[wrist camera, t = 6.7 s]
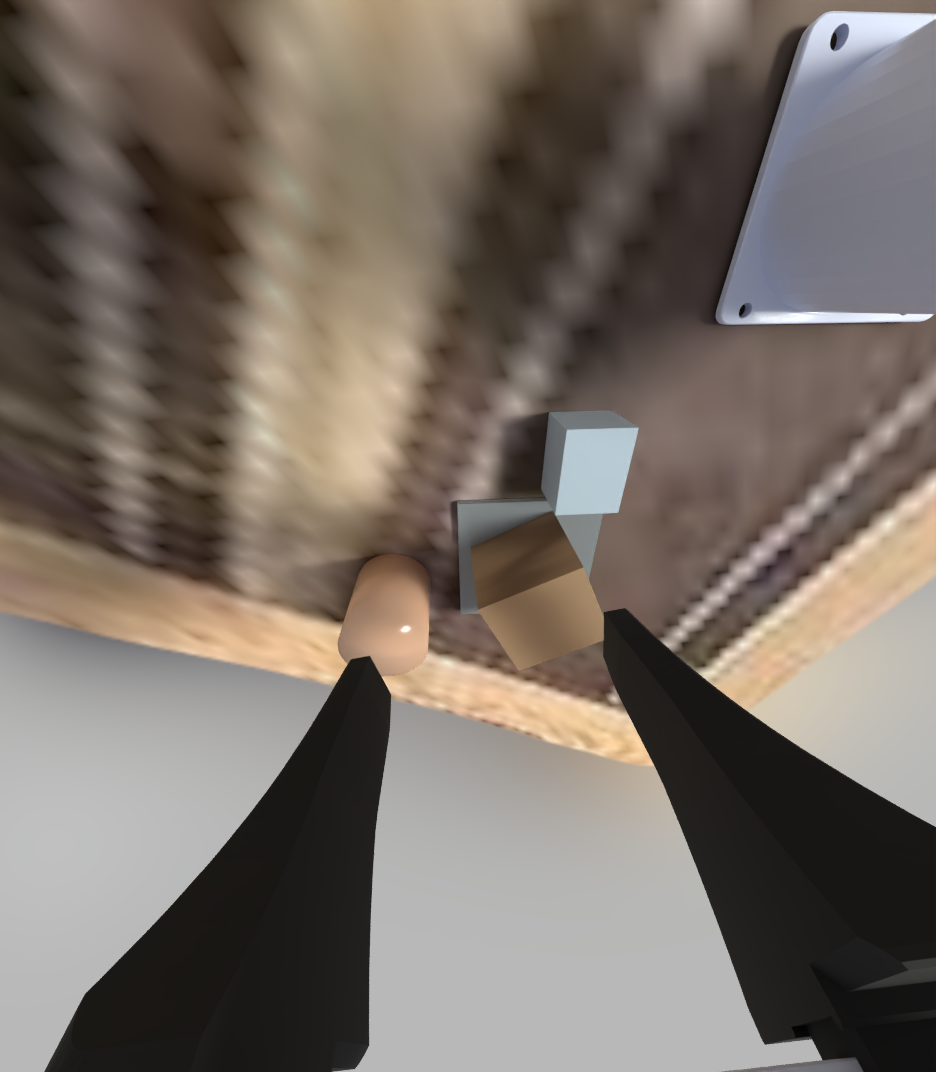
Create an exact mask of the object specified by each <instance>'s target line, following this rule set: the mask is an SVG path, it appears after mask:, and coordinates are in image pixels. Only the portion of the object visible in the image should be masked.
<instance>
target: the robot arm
mask: <svg viewBox="0 0 936 1072" xmlns="http://www.w3.org/2000/svg"><path fill="white" fill-rule="evenodd" d="M833 32H834V33H836V36H837V42H836V46H835V48H834V50H831V47H830V40H831V36H832V34H833ZM742 305H745V311H744V313H743V314H742V315H741V316H739V310H740V308H741V306H742ZM934 314H936V14H925V13H885V12H845V11H830V12H826V13H824V14H823V15H821V16H820V17H819V18H817V19H816V20H815V21H814V22H812V23H811V24H810V25H809V26H808V27H807V28H806V30H805V31H804V33H803V34H802V36H801V39H800V41H799V43H798V47H797V50H796V53H795V56H794V60H793V63H792V66H791V69H790V73H789V76H788V79H787V82H786V86H785V89H784V92H783V95H782V99H781V102H780V105H779V108H778V112H777V115H776V118H775V121H774V125H773V128H772V131H771V134H770V138H769V141H768V144H767V147H766V151H765V154H764V157H763V160H762V164H761V167H760V170H759V173H758V177H757V180H756V183H755V186H754V190H753V193H752V196H751V199H750V203H749V206H748V209H747V212H746V216H745V219H744V222H743V225H742V229H741V232H740V235H739V238H738V242H737V245H736V248H735V251H734V255H733V258H732V261H731V264H730V268H729V271H728V274H727V277H726V281H725V284H724V287H723V290H722V294H721V297H720V300H719V303H718V307H717V310H716V320H717V322H718V323H719V324H724V325H743V324H805V323H866V322H921V321H925V320H927V319H928V318H930V317H931V316H932V315H934ZM603 657H604V659H605V662H606V665H607V667H608V670H609V673H610V675H611V678H612V681H613V683H614V686H615V688H616V691H617V693H618V695H619V697H620V699H621V701H622V703H623V705H624V707H625V709H626V711H627V713H628V715H629V717H630V718H631V720H632V722H633V724H634V726H635V728H636V730H637V732H638V734H639V736H640V738H641V740H642V742H643V744H644V746H645V748H646V750H647V752H648V754H649V756H650V758H651V760H652V762H653V764H654V766H655V768H656V770H657V772H658V774H659V776H660V778H661V780H662V783H663V785H664V787H665V789H666V792H667V794H668V797H669V799H670V802H671V804H672V806H673V809H674V812H675V814H676V816H677V819H678V821H679V824H680V826H681V829H682V831H683V834H684V836H685V839H686V841H687V843H688V846H689V849H690V851H691V854H692V856H693V859H694V862H695V864H696V866H697V869H698V872H699V874H700V877H701V880H702V882H703V885H704V888H705V890H706V893H707V895H708V898H709V901H710V904H711V906H712V909H713V911H714V914H715V917H716V919H717V922H718V925H719V927H720V930H721V933H722V936H723V939H724V941H725V944H726V947H727V950H728V952H729V955H730V958H731V961H732V964H733V966H734V969H735V972H736V975H737V977H738V980H739V983H740V986H741V989H742V992H743V995H744V997H745V1000H746V1003H747V1006H748V1009H749V1011H750V1013H751V1016H752V1018H753V1020H754V1022H755V1025H756V1027H757V1029H758V1031H759V1034H760V1036H761V1038H762V1041H763V1042H764V1044H774V1043H782V1042H792V1041H800V1040H809V1039H812V1040H813V1042H814V1044H815V1045H816V1048H817V1050H818V1052H819V1054H820V1056H821V1058H822V1061H813V1062H804V1063H796V1064H786V1065H778V1066H770V1067H760V1068H751V1069H743V1070H733V1071H725V1072H936V827H935V826H933V825H931V824H929V823H927V822H925V821H923V820H922V819H920V818H918V817H916V816H914V815H912V814H911V813H909V812H907V811H905V810H904V809H902V808H900V807H898V806H897V805H895V804H893V803H891V802H890V801H888V800H886V799H885V798H883V797H881V796H879V795H877V794H876V793H874V792H872V791H871V790H869V789H867V788H865V787H863V786H862V785H860V784H859V783H857V782H855V781H854V780H852V779H851V778H849V777H847V776H846V775H844V774H842V773H840V772H839V771H837V770H836V769H834V768H832V767H831V766H829V765H828V764H826V763H824V762H823V761H821V760H819V759H818V758H816V757H815V756H813V755H811V754H810V753H808V752H807V751H805V750H803V749H802V748H800V747H799V746H797V745H796V744H794V743H793V742H791V741H790V740H788V739H787V738H785V737H784V736H782V735H781V734H779V733H778V732H776V731H775V730H773V729H772V728H770V727H769V726H767V725H766V724H764V723H763V722H762V721H760V720H759V719H757V718H756V717H755V716H753V715H752V714H750V713H749V712H747V711H746V710H745V709H743V708H742V707H741V706H739V705H738V704H737V703H735V702H734V701H733V700H731V699H730V698H729V697H727V696H726V695H725V694H723V693H722V692H721V691H720V690H718V689H717V688H716V687H714V686H713V685H712V684H711V683H709V682H708V681H707V680H706V679H704V678H703V677H702V676H701V675H699V674H698V673H697V672H696V671H694V670H693V669H692V668H691V667H690V666H689V665H687V664H686V663H685V662H684V661H683V660H681V659H680V658H679V657H678V656H677V655H676V654H674V653H673V652H672V651H671V650H670V649H669V648H668V647H666V646H665V645H664V644H663V643H662V642H661V641H660V640H659V639H658V638H657V637H655V636H654V635H653V634H652V633H651V632H650V631H649V630H648V629H647V628H646V627H645V626H644V625H643V624H642V623H640V622H639V621H638V620H637V619H636V618H635V617H634V616H633V615H632V614H631V613H630V612H629V611H628V610H627V609H625V608H624V609H618V610H613V611H607V612H604V650H603ZM390 710H391V694H390V692H389V690H388V688H387V686H386V684H385V683H384V681H383V679H382V677H381V675H380V673H379V671H378V670H377V668H376V666H375V664H374V662H373V660H372V658H371V657H370V656H365V657H360V658H355V659H351V660H350V661H349V663H348V665H347V666H346V668H345V670H344V671H343V673H342V675H341V677H340V678H339V680H338V682H337V683H336V685H335V687H334V689H333V690H332V692H331V694H330V695H329V697H328V699H327V701H326V702H325V704H324V706H323V707H322V709H321V711H320V712H319V714H318V715H317V717H316V719H315V721H314V722H313V724H312V726H311V727H310V728H309V730H308V732H307V733H306V735H305V736H304V738H303V740H302V741H301V743H300V744H299V746H298V747H297V749H296V750H295V751H294V753H293V754H292V756H291V758H290V759H289V760H288V762H287V763H286V765H285V767H284V768H283V769H282V771H281V772H280V774H279V775H278V776H277V778H276V779H275V781H274V782H273V784H272V785H271V786H270V788H269V789H268V790H267V792H266V793H265V794H264V796H263V797H262V798H261V800H260V801H259V802H258V804H257V805H256V806H255V808H254V809H253V810H252V812H251V813H250V814H249V815H248V817H247V818H246V819H245V820H244V822H243V823H242V824H241V825H240V827H239V828H238V829H237V830H236V832H235V833H234V834H233V835H232V837H231V838H230V839H229V840H228V841H227V843H226V844H225V845H224V846H223V847H222V849H221V850H220V851H219V852H218V853H217V855H216V856H215V857H214V858H213V860H212V861H211V862H210V863H209V864H208V865H207V866H206V867H205V869H204V870H203V871H202V872H201V873H200V874H199V875H198V876H197V877H196V879H195V880H194V881H193V882H192V883H191V884H190V885H189V886H188V888H187V889H186V890H185V891H184V892H183V893H182V895H180V896H179V898H178V899H177V900H176V901H175V902H174V903H173V905H171V906H170V908H169V909H168V910H167V911H166V912H165V913H164V914H163V915H162V916H161V917H160V918H159V919H158V920H157V922H156V923H155V924H154V925H153V926H152V927H151V928H150V929H149V930H148V931H147V932H146V933H145V934H144V935H143V936H142V937H141V938H140V939H139V940H138V941H137V942H136V943H135V944H134V945H133V946H132V947H131V948H130V949H129V950H128V951H127V952H126V954H124V955H123V956H122V957H121V959H119V960H118V962H117V963H116V964H115V965H114V966H113V967H112V968H111V969H110V970H109V971H108V972H107V973H106V974H105V975H104V976H103V977H102V978H101V979H100V980H99V981H98V982H97V983H96V984H95V985H94V986H93V987H92V988H91V989H90V990H89V991H88V992H87V993H86V994H85V995H84V997H83V999H82V1001H81V1003H80V1004H79V1006H78V1008H77V1010H76V1012H75V1014H74V1016H73V1018H72V1020H71V1022H70V1024H69V1026H68V1027H67V1029H66V1031H65V1033H64V1035H63V1037H62V1039H61V1041H60V1043H59V1045H58V1047H57V1049H56V1050H55V1052H54V1055H53V1056H52V1058H51V1060H50V1062H49V1064H48V1066H47V1068H46V1070H45V1072H333V1071H341V1070H350V1069H355V1068H356V1067H357V1065H358V1064H359V1063H360V1061H361V1059H362V1058H363V1056H364V1054H365V1052H366V1050H367V1048H368V1046H369V957H370V919H371V898H372V875H373V860H374V844H375V830H376V821H377V812H378V805H379V798H380V792H381V786H382V779H383V772H384V765H385V758H386V752H387V745H388V738H389V731H390Z"/></svg>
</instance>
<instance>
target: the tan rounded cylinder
mask: <svg viewBox="0 0 936 1072" xmlns="http://www.w3.org/2000/svg"><path fill="white" fill-rule="evenodd" d="M429 608H430V577H429V574H428V572H427V570H426V569H425V568H424V567H423V566H422V565H421V564H420V563H419V562H418V561H416V560H414V559H412V558H410V557H408V556H405V555H400V554H384V555H380V556H377V557H374V558H372V559H371V560H369V561H368V562H366V563H365V564H364V565H363V567H362V568H361V570H360V572H359V574H358V578H357V581H356V584H355V587H354V591H353V594H352V597H351V600H350V603H349V607H348V610H347V613H346V616H345V620H344V623H343V626H342V629H341V633H340V636H339V639H338V650H339V653H340V655H341V656H342V658H343V659H344V660H345V662H347V663H349V661H350V660H351V659H355V658H360V657H365V656H370V657H371V658H372V660H373V662H374V664H375V666H376V668H377V670H378V671H379V673H380V675H381V676H393V675H399V674H403V673H406V672H409V671H411V670H413V669H414V668H416V667H417V666H419V665H420V664H421V663H422V662H423V660H424V659H425V657H426V655H427V651H428V633H429Z"/></svg>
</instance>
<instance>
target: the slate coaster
mask: <svg viewBox="0 0 936 1072" xmlns="http://www.w3.org/2000/svg"><path fill="white" fill-rule="evenodd" d="M551 511H553V510H552V509H551V507H550V505H549V503H548V501H547V499H546V498H520V499H494V500H468V501H457V513H458V546H459V578H460V610H461V614H475V613H480V612H479V611H478V607H477V599H476V590H475V582H474V573H473V565H472V557H471V548H470V547H472V546H475V545H477V544H479V543H481V542H484V541H486V540H488V539H490V538H493V537H495V536H497V535H499V534H502V533H504V532H506V531H508V530H511V529H513V528H515V527H517V526H520V525H522V524H524V523H527V522H529V521H531V520H533V519H536V518H538V517H540V516H542V515H545V514H547V513H549V512H551ZM602 516H603V513H600V514H576V515H556V517H557V519H558V521H559V523H560V525H561V526H562V528H563V530H564V532H565V534H566V536H567V537H568V539H569V541H570V543H571V545H572V547H573V548H574V550H575V552H576V554H577V556H578V558H579V560H580V561H581V563H582V565H583V567H584V569H585V572H586V574H587V577H588V579H589V575H590V571H591V566H592V562H593V557H594V553H595V548H596V544H597V539H598V535H599V530H600V525H601V521H602Z"/></svg>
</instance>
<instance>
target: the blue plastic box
mask: <svg viewBox="0 0 936 1072" xmlns="http://www.w3.org/2000/svg"><path fill="white" fill-rule="evenodd" d="M638 429H639V427H637V426H636V425H634V424H632V423H631V422H629V421H628V420H626V419H624V418H623V417H621V416H620V415H618V414H616V413H615V412H613V411H611V410H602V411H567V412H549V418H548V427H547V437H546V446H545V455H544V465H543V474H542V483H541V490H542V492H543V494H544V496H545V497H546V499H547V501H548V503H549V505H550V507H551V509H552V510H553V512H554V514H555V515H576V514H600V513H618V511H619V507H620V503H621V498H622V494H623V490H624V486H625V482H626V478H627V474H628V470H629V466H630V462H631V458H632V454H633V450H634V445H635V441H636V437H637V433H638Z"/></svg>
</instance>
